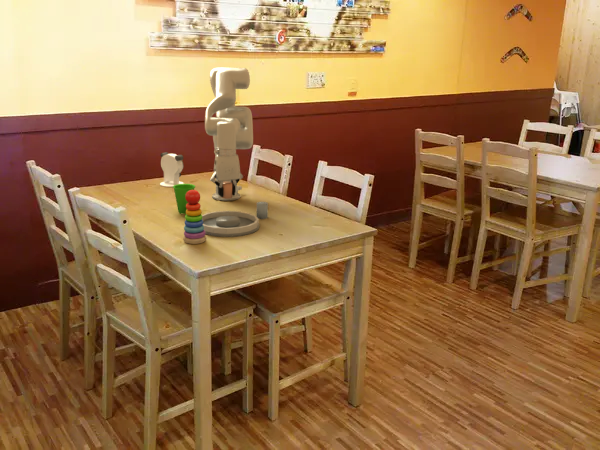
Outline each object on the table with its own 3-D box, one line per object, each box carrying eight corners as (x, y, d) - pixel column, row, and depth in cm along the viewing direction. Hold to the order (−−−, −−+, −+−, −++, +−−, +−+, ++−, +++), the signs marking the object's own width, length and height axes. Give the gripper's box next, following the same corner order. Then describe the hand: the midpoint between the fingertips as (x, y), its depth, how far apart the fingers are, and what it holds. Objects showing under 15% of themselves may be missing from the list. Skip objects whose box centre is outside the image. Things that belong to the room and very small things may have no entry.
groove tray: (221, 214, 239) (221, 207, 238) (271, 224, 228) (271, 217, 227) (183, 229, 219) (182, 221, 218) (235, 241, 208) (235, 233, 207)
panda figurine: (189, 183, 287) (188, 153, 282) (173, 188, 278) (172, 157, 273) (171, 180, 293) (170, 150, 288) (155, 184, 283) (153, 154, 279)
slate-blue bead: (260, 215, 240) (260, 201, 238) (269, 217, 238) (269, 202, 236) (254, 217, 236) (254, 203, 234) (263, 219, 234) (263, 205, 232)
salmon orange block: (225, 194, 244) (225, 180, 242) (234, 196, 242) (234, 182, 240) (219, 197, 241) (219, 183, 239) (228, 199, 239) (228, 185, 237)
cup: (191, 216, 235) (190, 189, 232) (170, 214, 237) (169, 187, 234) (199, 210, 244) (198, 184, 240) (178, 208, 245) (178, 182, 242)
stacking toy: (184, 237, 210) (182, 186, 204) (206, 237, 211) (205, 187, 205) (182, 244, 203) (180, 192, 197) (205, 244, 203) (204, 192, 198)
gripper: (210, 155, 228) (211, 200, 234) (249, 152, 236) (249, 195, 242) (203, 151, 234) (204, 195, 240) (241, 148, 242) (241, 190, 248)
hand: (226, 194), depth 241 cm, fingers closed on salmon orange block, 4 cm apart
